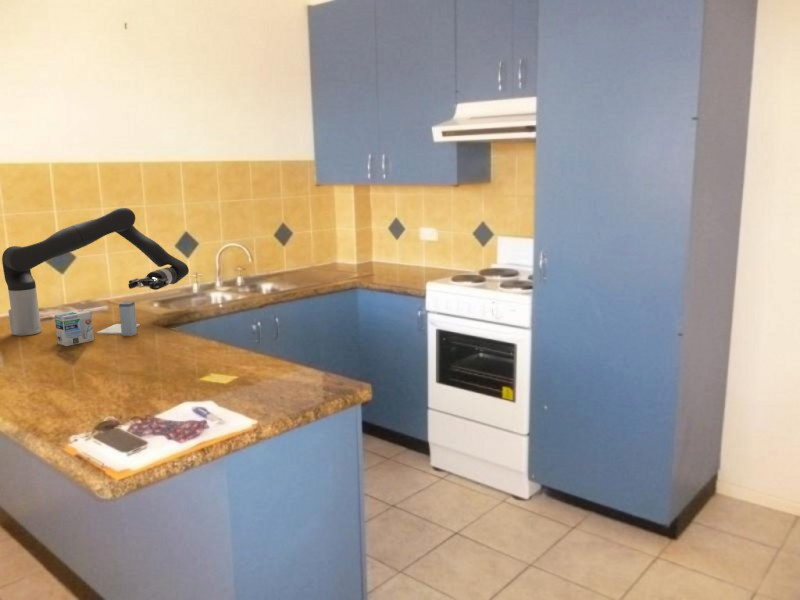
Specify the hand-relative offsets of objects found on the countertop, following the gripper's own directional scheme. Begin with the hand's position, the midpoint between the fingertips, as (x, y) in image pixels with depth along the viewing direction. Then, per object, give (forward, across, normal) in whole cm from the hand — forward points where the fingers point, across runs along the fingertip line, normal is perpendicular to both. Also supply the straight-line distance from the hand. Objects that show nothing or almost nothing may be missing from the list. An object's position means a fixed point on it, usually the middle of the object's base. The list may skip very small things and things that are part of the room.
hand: (140, 286), depth 260 cm
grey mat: (+4, -8, +16) cm, 19 cm away
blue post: (+11, 0, +16) cm, 20 cm away
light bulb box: (+23, -14, +16) cm, 32 cm away
